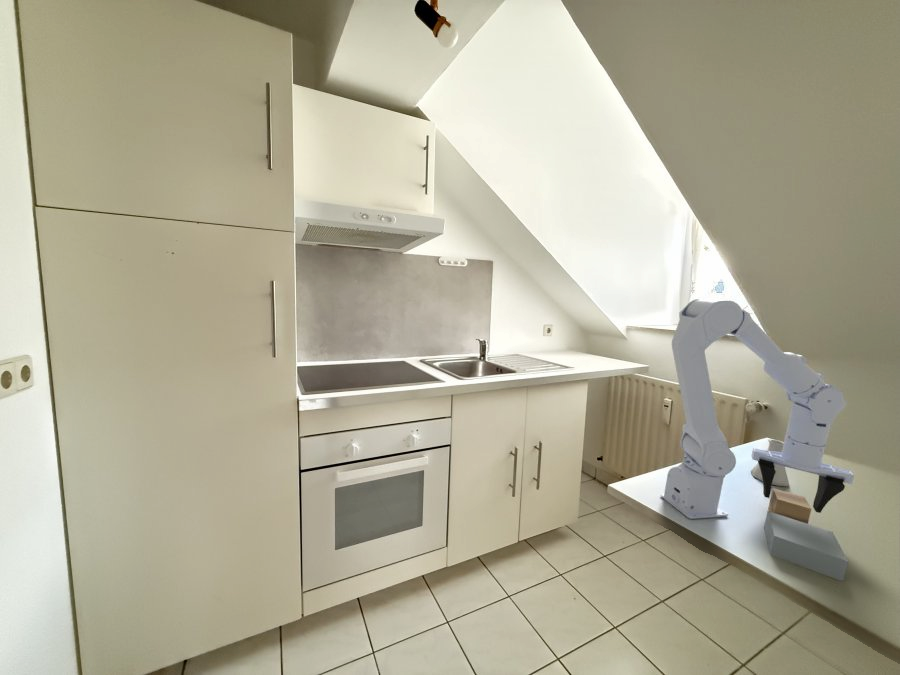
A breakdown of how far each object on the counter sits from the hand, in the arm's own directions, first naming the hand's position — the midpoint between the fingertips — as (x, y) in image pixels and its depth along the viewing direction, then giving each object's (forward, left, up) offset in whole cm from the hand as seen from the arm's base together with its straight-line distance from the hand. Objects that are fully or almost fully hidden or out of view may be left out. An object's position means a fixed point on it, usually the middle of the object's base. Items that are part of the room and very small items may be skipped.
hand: (790, 502), depth 73 cm
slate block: (-8, -8, -4) cm, 12 cm away
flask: (+14, +14, -4) cm, 20 cm away
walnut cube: (0, 0, -4) cm, 4 cm away
